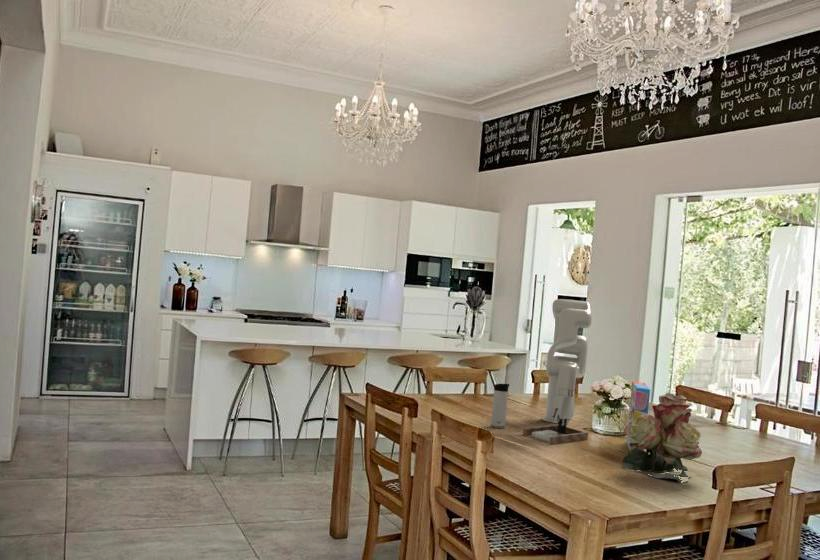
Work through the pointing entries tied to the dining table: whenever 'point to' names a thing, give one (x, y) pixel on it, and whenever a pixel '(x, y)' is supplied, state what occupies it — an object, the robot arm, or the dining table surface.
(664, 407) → the rose bouquet
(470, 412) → the dining table surface
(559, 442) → the tray
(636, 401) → the game box
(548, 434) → the cover plate
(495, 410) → the travel mug
